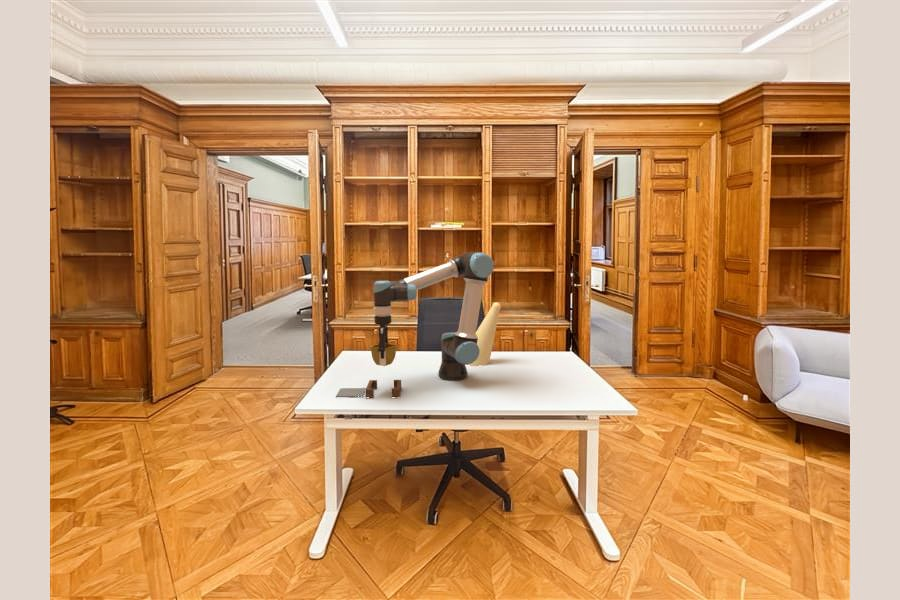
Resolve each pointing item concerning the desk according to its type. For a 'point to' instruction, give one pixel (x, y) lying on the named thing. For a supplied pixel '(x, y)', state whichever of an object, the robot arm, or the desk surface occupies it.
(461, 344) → the robot arm
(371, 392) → the pair of brown brackets
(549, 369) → the desk surface
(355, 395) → the slate mat
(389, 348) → the flower pot
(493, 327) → the cone light
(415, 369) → the desk surface
